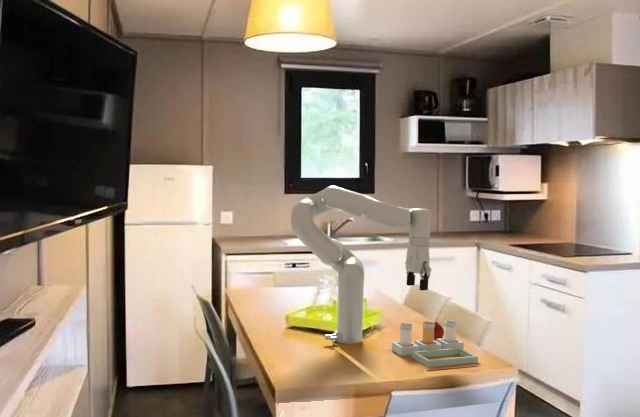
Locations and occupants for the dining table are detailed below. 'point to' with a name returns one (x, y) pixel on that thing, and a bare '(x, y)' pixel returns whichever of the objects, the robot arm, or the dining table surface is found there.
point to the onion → (438, 330)
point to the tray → (465, 359)
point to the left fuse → (405, 334)
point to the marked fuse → (428, 333)
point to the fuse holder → (424, 346)
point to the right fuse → (450, 331)
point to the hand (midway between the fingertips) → (416, 287)
